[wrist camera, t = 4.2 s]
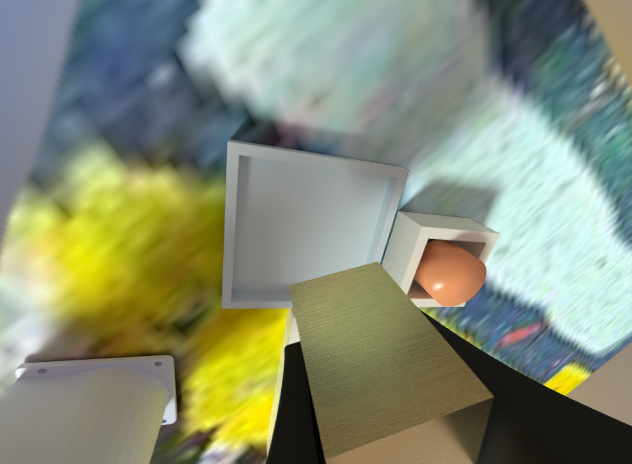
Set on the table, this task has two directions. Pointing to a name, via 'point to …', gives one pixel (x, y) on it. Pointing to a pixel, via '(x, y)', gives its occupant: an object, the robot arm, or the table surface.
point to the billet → (385, 375)
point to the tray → (300, 219)
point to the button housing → (412, 241)
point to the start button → (449, 273)
